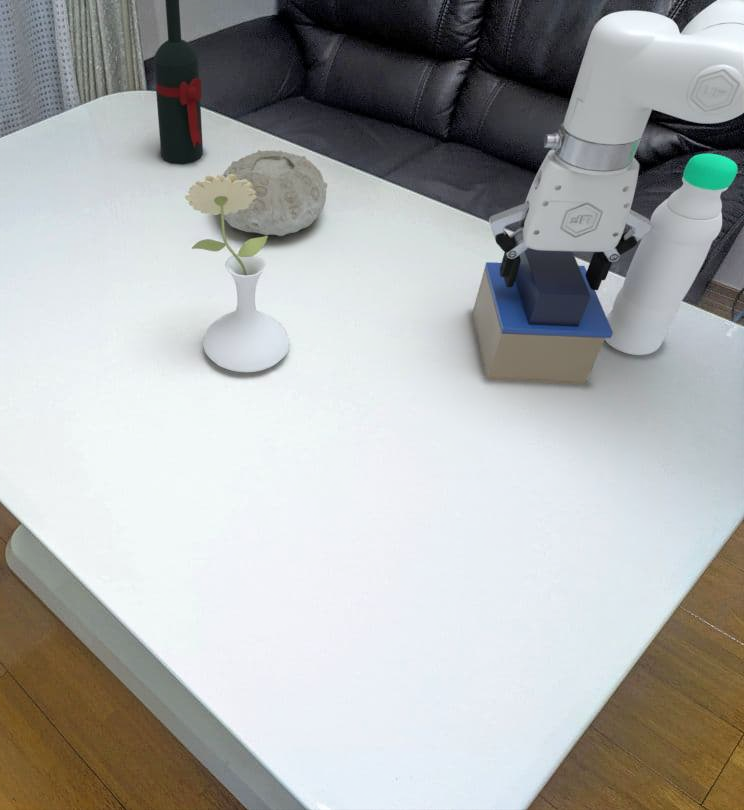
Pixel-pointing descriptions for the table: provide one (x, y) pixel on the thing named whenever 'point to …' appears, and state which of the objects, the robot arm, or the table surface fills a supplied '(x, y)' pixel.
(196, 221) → the table surface
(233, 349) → the flower in vase
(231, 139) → the table surface
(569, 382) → the container
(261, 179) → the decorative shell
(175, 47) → the wine bottle
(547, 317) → the case
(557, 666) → the table surface
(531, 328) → the container lid
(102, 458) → the table surface
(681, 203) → the water bottle
